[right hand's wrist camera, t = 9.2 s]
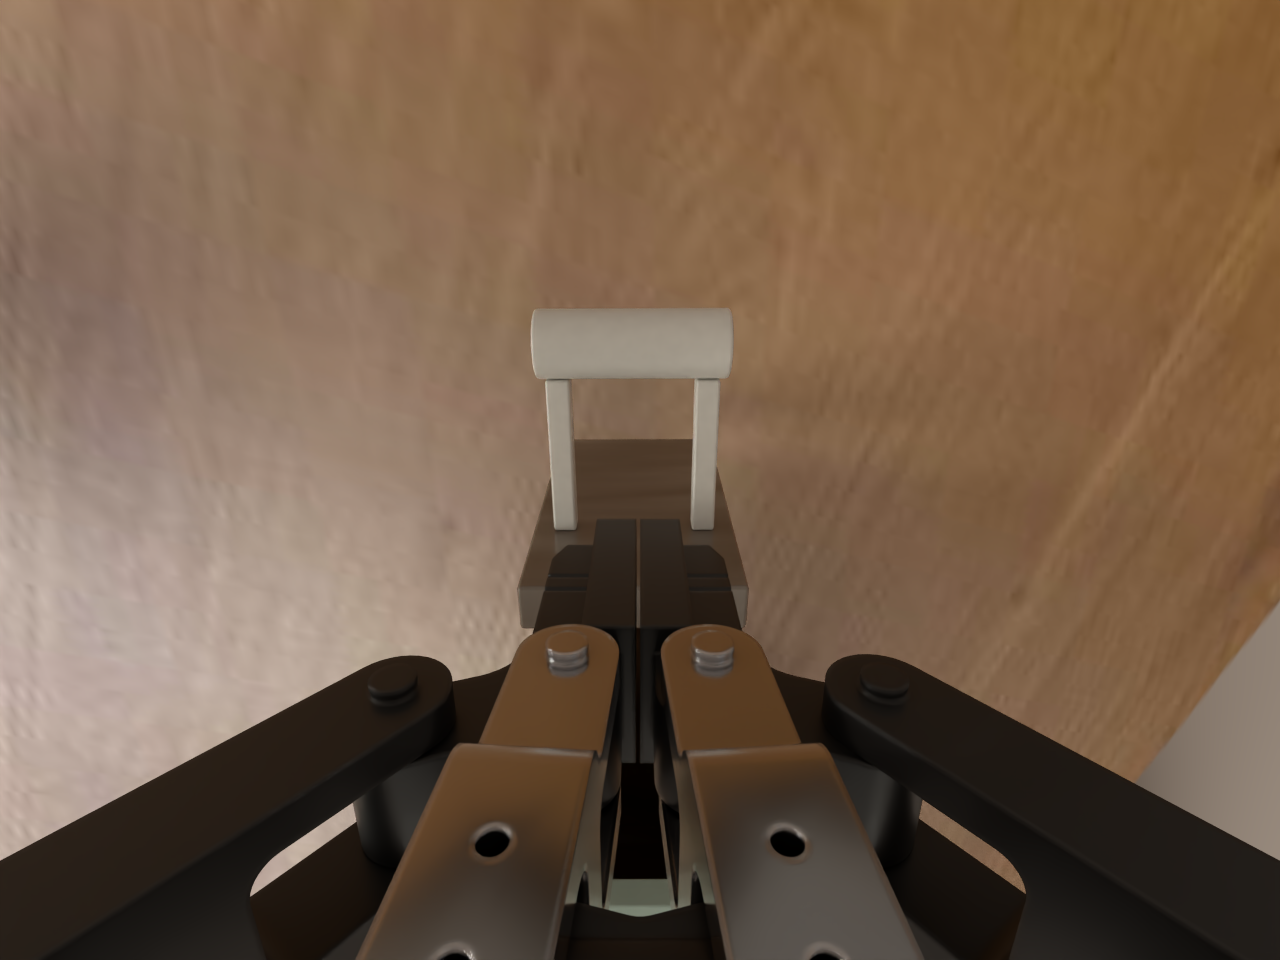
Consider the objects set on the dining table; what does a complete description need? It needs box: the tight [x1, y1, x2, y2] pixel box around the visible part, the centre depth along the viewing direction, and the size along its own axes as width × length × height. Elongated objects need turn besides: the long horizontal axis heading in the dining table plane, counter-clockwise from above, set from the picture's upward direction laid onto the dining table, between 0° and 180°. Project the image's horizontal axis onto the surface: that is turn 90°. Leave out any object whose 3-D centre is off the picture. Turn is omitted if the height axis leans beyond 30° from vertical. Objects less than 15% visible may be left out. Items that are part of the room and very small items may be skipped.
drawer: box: [517, 308, 749, 879], centre depth 23 cm, size 25×5×10 cm, turn 0°
